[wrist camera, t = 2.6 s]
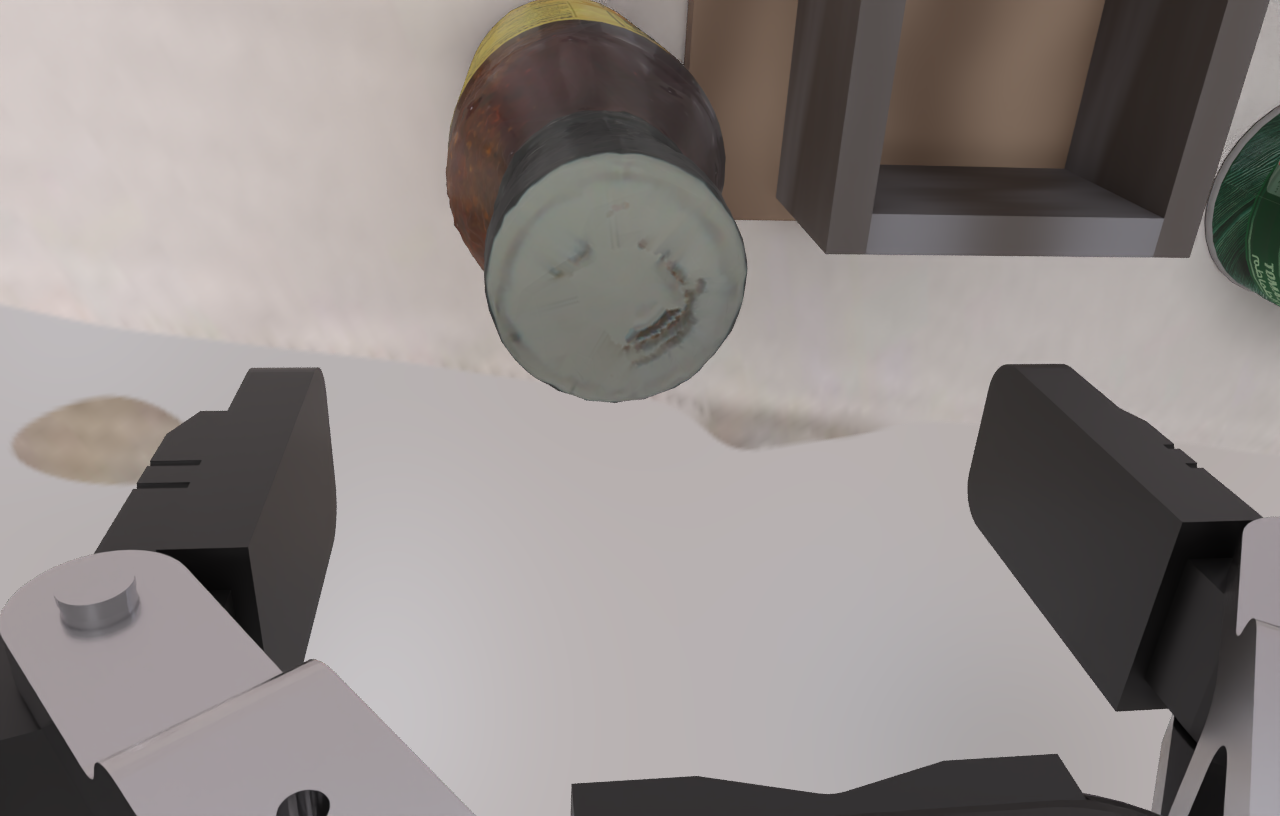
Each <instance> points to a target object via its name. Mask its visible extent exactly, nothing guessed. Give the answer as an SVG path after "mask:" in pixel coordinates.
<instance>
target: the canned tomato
mask: <svg viewBox="0 0 1280 816" xmlns="http://www.w3.org/2000/svg"><path fill="white" fill-rule="evenodd" d="M1205 227H1206V240H1207V244H1208V247H1209V251H1210V254H1211V257H1212V258H1213V260H1214V262H1215V263H1216V265H1217V267H1218V268H1219V270H1220V271H1221V272H1222V273H1223V274H1224V275H1225V276H1226V277H1227V278H1228V279H1229V280H1230V281H1232V282H1233V283H1235V284H1237V285H1238V286H1240V287H1242V288H1244V289H1246V290H1248V291H1252V292H1255V293H1257V294H1258V295H1260V296H1262V297H1263V298H1265V299H1266V300H1268V301H1270V302H1272V303H1274V304H1276V305H1278V306H1280V106H1279V107H1277V108H1275V109H1274V110H1273V111H1271V112H1270V113H1269V114H1267V115H1266V116H1265V117H1264V118H1262V119H1261V120H1260V121H1258V122H1257V123H1256V124H1255V125H1254V126H1253V127H1252V128H1251V129H1250V130H1249V131H1248V132H1247V133H1246V134H1245V135H1244V136H1243V137H1242V138H1241V139H1240V140H1239V142H1238V143H1237V144H1236V146H1235V147H1234V149H1233V150H1232V151H1231V153H1230V154H1229V156H1228V157H1227V158H1226V160H1225V162H1224V163H1223V165H1222V167H1221V169H1220V171H1219V173H1218V175H1217V177H1216V179H1215V181H1214V184H1213V187H1212V190H1211V193H1210V196H1209V199H1208V204H1207V212H1206V219H1205Z"/></svg>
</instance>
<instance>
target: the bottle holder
mask: <svg viewBox="0 0 1280 816" xmlns="http://www.w3.org/2000/svg"><path fill="white" fill-rule="evenodd" d="M1269 1H1270V0H689V2H688V16H687V31H686V46H685V61H684V67H685V68H686V69H687V70H688V71H689V72H690V73H691V74H692V75H693V77H694V78H695V79H696V81H697V82H698V83H699V85H700V86H701V87H702V89H703V91H704V92H705V94H706V96H707V97H708V99H709V101H710V103H711V105H712V107H713V109H714V111H715V113H716V116H717V119H718V121H719V124H720V128H721V132H722V136H723V141H724V148H725V155H726V164H725V182H724V187H723V191H722V196H723V199H724V201H725V203H726V205H727V206H728V208H729V210H730V211H731V214H732V216H733V218H734V220H784V221H797V222H798V223H799V224H800V225H801V227H802V228H803V229H804V230H805V231H806V232H807V233H808V234H809V236H810V237H811V238H812V239H813V240H814V241H815V242H816V244H817V245H818V246H819V247H820V248H821V249H822V250H823V251H824V253H825V254H879V255H975V256H1072V257H1168V258H1189V257H1190V254H1191V251H1192V248H1193V245H1194V241H1195V238H1196V235H1197V232H1198V228H1199V225H1200V222H1201V219H1202V216H1203V212H1204V209H1205V206H1206V203H1207V200H1208V196H1209V193H1210V190H1211V187H1212V184H1213V180H1214V177H1215V174H1216V171H1217V168H1218V164H1219V161H1220V158H1221V155H1222V151H1223V148H1224V145H1225V142H1226V139H1227V135H1228V132H1229V129H1230V126H1231V123H1232V119H1233V116H1234V113H1235V110H1236V107H1237V103H1238V100H1239V97H1240V94H1241V90H1242V87H1243V84H1244V81H1245V78H1246V74H1247V71H1248V68H1249V65H1250V62H1251V58H1252V55H1253V52H1254V49H1255V46H1256V42H1257V39H1258V36H1259V33H1260V30H1261V26H1262V23H1263V20H1264V17H1265V13H1266V10H1267V7H1268V4H1269Z"/></svg>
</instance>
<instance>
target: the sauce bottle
mask: <svg viewBox="0 0 1280 816" xmlns="http://www.w3.org/2000/svg"><path fill="white" fill-rule="evenodd" d="M725 164H726V155H725V148H724V141H723V136H722V132H721V128H720V124H719V121H718V119H717V116H716V113H715V111H714V109H713V107H712V105H711V103H710V101H709V99H708V97H707V96H706V94H705V92H704V91H703V89H702V87H701V86H700V85H699V83H698V82H697V81H696V79H695V78H694V77H693V75H692V74H691V73H690V72H689V71H688V70H687V69H686V68H685V67H684V66H683V65H682V64H681V63H680V62H679V61H678V60H677V59H676V58H675V57H674V56H673V55H672V54H670V53H669V52H668V51H667V50H666V49H665V48H663V47H662V46H660V45H659V44H658V43H657V42H656V41H655V40H654V39H652V38H651V37H649V36H648V35H647V34H645V33H644V32H642V31H641V30H640V29H639V28H637V27H636V26H634V25H633V24H632V23H631V22H629V21H628V20H627V19H625V18H624V17H623V16H621V15H620V14H618V13H616V12H615V11H613V10H612V9H610V8H608V7H606V6H604V5H602V4H600V3H597V2H593V1H590V0H537V1H533V2H530V3H528V4H525V5H523V6H521V7H518V8H516V9H514V10H512V11H510V12H509V13H508V14H507V15H506V16H505V17H503V18H502V19H501V20H500V21H499V22H498V23H497V24H496V25H495V26H494V27H493V28H492V29H491V30H490V32H489V33H488V34H487V35H486V37H485V38H484V39H483V41H482V42H481V44H480V46H479V48H478V50H477V52H476V53H475V55H474V58H473V60H472V63H471V66H470V68H469V71H468V74H467V77H466V79H465V82H464V85H463V88H462V91H461V94H460V97H459V100H458V102H457V105H456V108H455V111H454V114H453V118H452V122H451V126H450V133H449V142H448V158H447V167H446V179H447V183H446V185H447V195H448V197H449V199H450V208H451V211H452V214H453V217H454V226H455V227H456V228H457V230H458V231H459V232H460V234H461V237H462V239H463V241H464V243H465V245H466V246H467V247H468V249H469V250H470V252H471V254H472V256H473V257H474V258H475V259H476V261H477V263H478V264H479V266H480V267H481V268H482V270H483V271H484V280H485V293H486V298H487V303H488V307H489V311H490V314H491V316H492V319H493V321H494V324H495V326H496V329H497V331H498V334H499V336H500V339H501V341H502V343H503V344H504V346H505V347H506V348H507V350H508V351H509V352H510V354H511V355H512V356H513V358H514V359H515V360H516V361H517V362H518V363H519V364H520V365H521V366H522V367H523V368H524V369H525V370H526V371H527V372H528V373H530V374H531V375H533V376H534V377H535V378H537V379H538V380H540V381H542V382H544V383H546V384H549V385H550V386H552V387H553V388H555V389H557V390H558V391H561V392H564V393H568V394H571V395H574V396H577V397H579V398H582V399H584V400H589V401H602V402H613V403H617V402H622V401H629V400H640V399H646V398H648V397H651V396H654V395H656V394H659V393H661V392H664V391H667V390H670V389H673V388H675V387H677V386H678V385H680V384H681V383H683V382H685V381H687V380H689V379H690V378H691V377H692V376H693V375H695V374H696V373H697V372H698V371H699V370H700V369H701V368H702V367H703V365H704V364H705V363H706V362H707V361H708V360H709V359H710V358H711V357H712V356H713V355H714V354H715V353H716V351H717V350H718V349H719V347H720V346H721V345H722V343H723V342H724V340H725V339H726V338H727V336H728V335H729V334H730V332H731V331H732V329H733V326H734V324H735V321H736V319H737V317H738V314H739V311H740V308H741V305H742V301H743V297H744V291H745V284H746V276H747V259H746V253H745V248H744V243H743V239H742V236H741V234H740V232H739V229H738V227H737V225H736V222H735V220H734V218H733V216H732V214H731V211H730V210H729V208H728V206H727V205H726V203H725V201H724V199H723V196H722V191H723V187H724V182H725Z"/></svg>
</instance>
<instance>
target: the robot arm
mask: <svg viewBox="0 0 1280 816" xmlns="http://www.w3.org/2000/svg"><path fill="white" fill-rule="evenodd" d="M968 501H969V507H970V511H971V514H972V517H973V520H974V522H975V524H976V525H977V527H978V528H979V530H980V531H981V532H982V534H983V535H984V536H985V537H986V539H987V540H988V542H989V543H990V544H991V546H992V547H993V548H994V550H995V551H996V552H997V554H998V555H999V556H1000V558H1001V559H1002V560H1003V561H1004V563H1005V564H1006V565H1007V567H1008V568H1009V570H1010V571H1011V572H1012V574H1013V575H1014V576H1015V578H1016V579H1017V580H1018V582H1019V583H1020V584H1021V586H1022V587H1023V588H1024V590H1025V591H1026V592H1027V594H1028V595H1029V596H1030V598H1031V599H1032V600H1033V602H1034V603H1035V604H1036V606H1037V607H1038V608H1039V610H1040V611H1041V612H1042V614H1043V615H1044V616H1045V617H1046V619H1047V620H1048V622H1049V623H1050V624H1051V626H1052V627H1053V628H1054V630H1055V631H1056V632H1057V634H1058V635H1059V636H1060V638H1061V639H1062V640H1063V642H1064V643H1065V644H1066V646H1067V647H1068V648H1069V650H1070V651H1071V652H1072V654H1073V655H1074V656H1075V658H1076V659H1077V660H1078V661H1079V663H1080V664H1081V666H1082V667H1083V668H1084V670H1085V671H1086V672H1087V674H1088V675H1089V676H1090V678H1091V679H1092V680H1093V682H1094V683H1095V684H1096V685H1097V687H1098V688H1099V690H1100V691H1101V692H1102V693H1103V695H1104V696H1105V698H1106V699H1107V700H1108V702H1109V703H1110V704H1111V706H1112V707H1113V708H1114V710H1115V711H1134V710H1152V709H1169V710H1170V711H1171V712H1172V717H1171V719H1170V722H1169V724H1168V727H1167V730H1166V732H1165V735H1164V738H1163V741H1162V745H1161V751H1160V758H1159V765H1158V771H1157V779H1156V784H1155V791H1154V798H1153V804H1152V811H1148V810H1145V809H1142V808H1139V807H1136V806H1133V805H1130V804H1127V803H1124V802H1121V801H1116V800H1112V799H1108V798H1104V797H1100V796H1096V795H1090V794H1085V793H1082V792H1081V790H1080V789H1079V787H1078V786H1077V784H1076V782H1075V781H1074V779H1073V777H1072V776H1071V775H1070V773H1069V771H1068V770H1067V768H1066V767H1065V765H1064V764H1063V762H1062V760H1061V759H1060V757H1059V756H1058V754H1048V755H1031V756H1015V757H999V758H983V759H967V760H950V761H942V762H939V763H936V764H932V765H930V766H926V767H923V768H920V769H916V770H913V771H910V772H907V773H903V774H900V775H897V776H894V777H891V778H887V779H884V780H881V781H878V782H875V783H872V784H868V785H865V786H862V787H859V788H855V789H852V790H849V791H846V792H842V793H837V794H818V793H811V792H804V791H797V790H790V789H783V788H776V787H769V786H762V785H755V784H747V783H741V782H734V781H727V780H720V779H713V778H705V777H699V776H691V777H675V778H659V779H643V780H627V781H610V782H594V783H578V784H572V791H571V816H1280V517H1266V518H1263V517H1262V516H1260V515H1259V514H1258V513H1257V512H1256V511H1255V510H1253V509H1252V508H1251V507H1249V505H1247V504H1246V503H1245V502H1244V501H1242V500H1241V499H1240V498H1239V497H1238V496H1236V495H1235V494H1234V493H1233V492H1232V491H1230V490H1229V489H1228V488H1227V487H1225V486H1224V485H1223V484H1222V483H1221V482H1219V481H1218V480H1217V479H1216V478H1215V477H1213V476H1212V475H1211V474H1210V473H1208V472H1207V471H1206V470H1205V469H1204V468H1197V463H1196V462H1195V461H1194V460H1193V459H1191V458H1190V457H1189V456H1188V455H1186V454H1185V453H1184V452H1183V451H1182V450H1180V449H1174V444H1173V443H1172V442H1171V441H1170V440H1168V439H1167V438H1166V437H1165V436H1164V435H1162V434H1161V433H1160V432H1159V431H1157V430H1156V429H1155V428H1154V427H1153V426H1151V425H1150V424H1149V423H1148V422H1147V421H1144V420H1142V419H1140V418H1138V417H1136V416H1134V415H1132V414H1130V413H1128V412H1126V411H1124V410H1122V409H1120V408H1119V407H1117V406H1116V405H1115V404H1114V403H1113V402H1111V401H1110V400H1109V399H1108V398H1107V397H1106V396H1104V395H1103V394H1102V393H1101V392H1100V391H1098V390H1097V389H1096V388H1095V387H1094V386H1092V385H1091V384H1090V383H1089V382H1088V381H1086V380H1085V379H1084V378H1083V377H1082V376H1080V375H1079V374H1078V373H1077V372H1076V371H1074V370H1073V369H1072V368H1071V367H1069V366H1068V365H1065V364H1009V365H1003V366H1001V367H1000V368H999V369H998V370H997V371H996V372H995V374H994V376H993V378H992V380H991V382H990V386H989V390H988V394H987V398H986V403H985V407H984V411H983V416H982V420H981V424H980V429H979V433H978V437H977V442H976V446H975V450H974V455H973V460H972V463H971V468H970V472H969V477H968ZM336 508H337V505H336V485H335V475H334V466H333V456H332V446H331V436H330V427H329V416H328V406H327V396H326V388H325V381H324V377H323V374H322V371H321V369H320V368H251V369H249V371H248V372H247V374H246V376H245V378H244V380H243V382H242V384H241V386H240V388H239V390H238V392H237V393H236V395H235V397H234V399H233V401H232V403H231V405H230V407H229V409H228V411H200V412H199V413H197V414H196V415H194V416H193V417H191V418H190V419H188V420H187V421H185V422H184V423H182V424H181V425H179V426H178V427H177V428H175V429H174V430H172V431H171V432H169V433H168V434H166V436H165V438H164V439H163V441H162V443H161V444H160V446H159V447H158V449H157V451H156V452H155V454H154V456H153V457H152V459H151V461H150V466H147V467H146V469H145V471H144V472H143V474H142V475H141V477H140V479H139V480H138V482H137V489H133V490H132V492H131V494H130V495H129V497H128V499H127V500H126V502H125V504H124V505H123V507H122V508H121V510H120V512H119V513H118V515H117V517H116V518H115V520H114V522H113V523H112V525H111V526H110V528H109V530H108V531H107V533H106V535H105V537H104V538H103V540H102V541H101V543H100V545H99V546H98V548H97V550H96V551H95V553H94V554H92V555H88V556H84V557H81V558H78V559H74V560H71V561H68V562H65V563H63V564H60V565H58V566H55V567H53V568H51V569H49V570H47V571H45V572H43V573H42V574H40V575H38V576H36V577H35V578H33V579H32V580H30V581H29V582H27V583H26V584H25V585H23V586H22V587H21V588H20V589H19V590H17V591H16V592H15V593H14V594H13V596H12V597H11V598H10V599H9V600H8V601H7V603H6V604H5V606H4V607H3V609H2V611H1V614H0V816H476V815H475V814H474V813H473V812H472V811H471V810H470V809H469V808H468V807H467V806H466V805H465V804H464V803H463V802H462V801H461V800H460V799H459V798H458V797H457V796H456V795H455V794H454V793H453V792H452V791H451V790H450V789H449V788H448V787H447V786H446V785H445V784H444V783H443V782H442V781H441V780H440V779H439V778H438V777H437V776H436V775H435V774H434V772H433V771H431V770H430V768H429V767H427V765H426V764H425V763H424V762H423V761H422V760H421V759H420V758H419V757H418V756H417V755H416V754H415V753H414V752H413V751H412V750H411V749H410V748H409V747H408V746H407V745H406V744H405V743H404V742H403V741H402V740H401V739H400V738H399V737H398V736H397V735H396V734H395V733H394V732H393V731H392V730H391V729H390V728H389V727H388V726H387V725H386V724H385V723H384V722H383V721H382V720H381V719H380V718H379V717H378V716H377V714H376V713H375V712H374V711H372V709H371V708H370V707H368V706H367V704H366V703H365V702H364V701H363V700H362V699H361V698H360V697H359V696H358V695H357V694H356V693H355V692H354V691H353V690H352V689H351V688H350V687H349V686H348V685H347V684H346V683H345V682H344V681H343V680H342V679H341V678H340V677H339V676H338V675H337V674H336V673H335V672H334V671H333V670H332V669H331V668H330V667H329V666H327V665H326V664H324V663H323V662H321V661H318V660H316V659H310V660H308V661H306V662H304V658H305V654H306V650H307V646H308V642H309V638H310V634H311V630H312V626H313V622H314V618H315V614H316V610H317V606H318V602H319V598H320V594H321V590H322V587H323V583H324V579H325V574H326V570H327V567H328V563H329V559H330V555H331V551H332V547H333V542H334V537H335V528H336ZM303 662H304V663H303Z"/></svg>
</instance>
